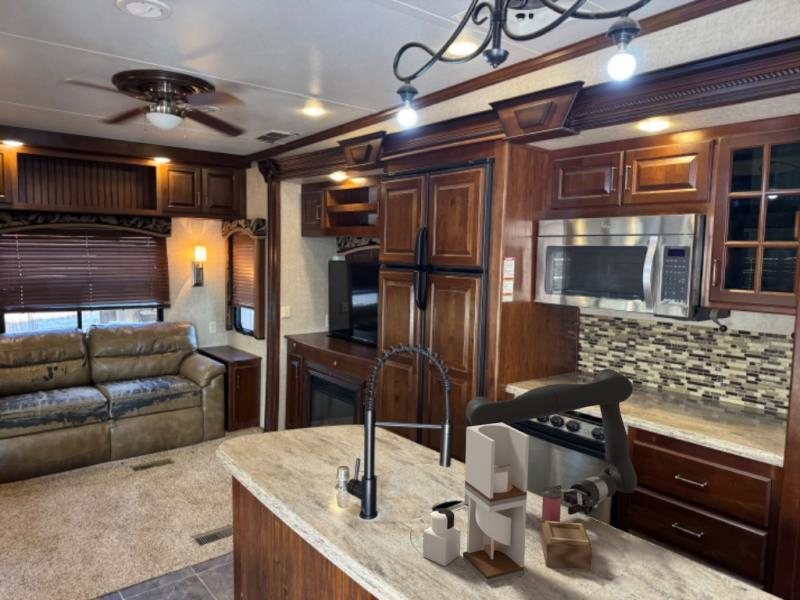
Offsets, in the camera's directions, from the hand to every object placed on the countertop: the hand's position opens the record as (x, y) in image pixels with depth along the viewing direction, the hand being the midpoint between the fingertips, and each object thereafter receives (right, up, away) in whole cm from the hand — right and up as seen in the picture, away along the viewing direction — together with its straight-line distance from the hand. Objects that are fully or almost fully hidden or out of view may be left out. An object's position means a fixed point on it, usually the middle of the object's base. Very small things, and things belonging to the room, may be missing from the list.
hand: (556, 505), depth 159 cm
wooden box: (-2, -8, -14) cm, 16 cm away
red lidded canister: (-2, -7, -1) cm, 7 cm away
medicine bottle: (-34, -8, -15) cm, 38 cm away
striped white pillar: (-22, -8, -19) cm, 30 cm away
